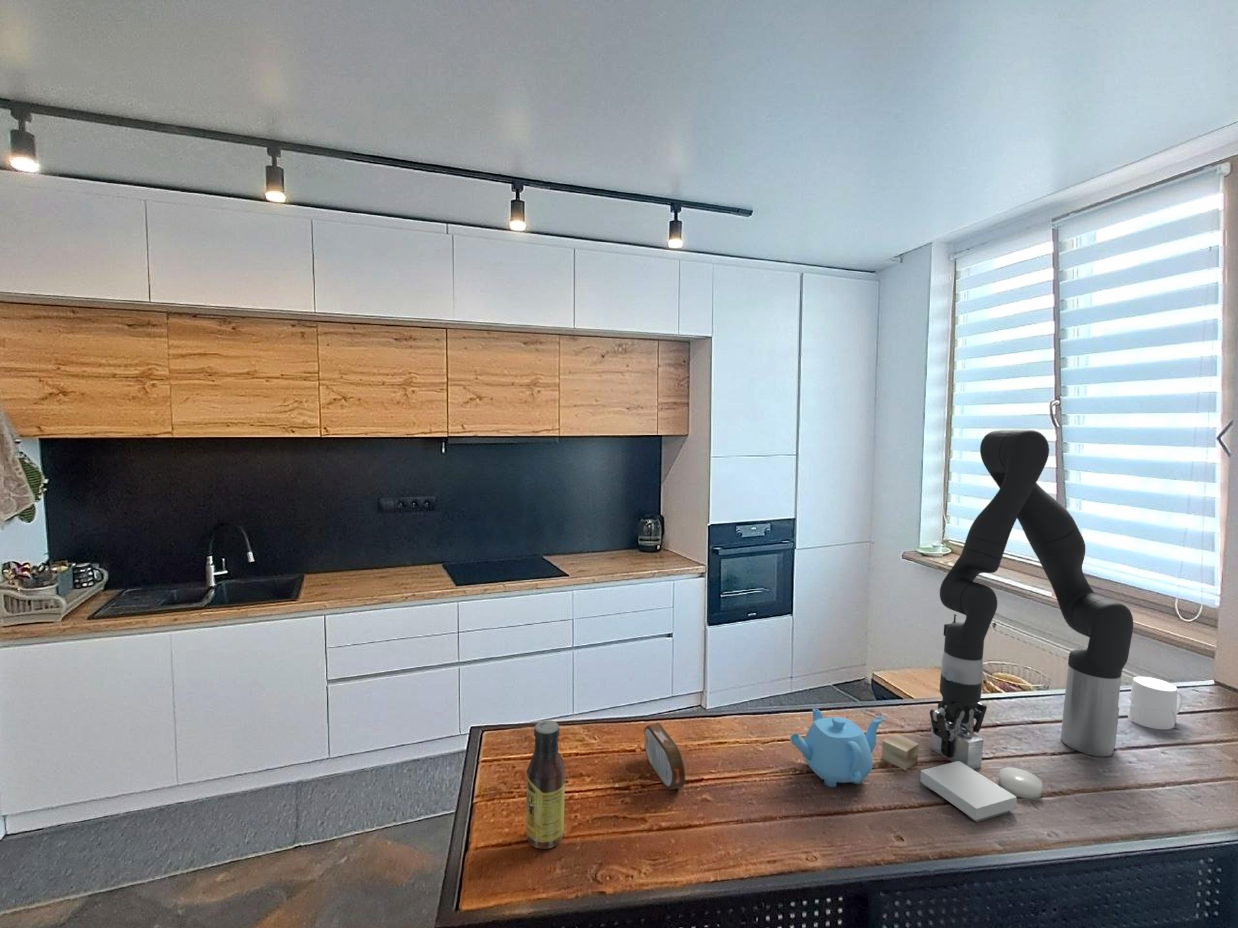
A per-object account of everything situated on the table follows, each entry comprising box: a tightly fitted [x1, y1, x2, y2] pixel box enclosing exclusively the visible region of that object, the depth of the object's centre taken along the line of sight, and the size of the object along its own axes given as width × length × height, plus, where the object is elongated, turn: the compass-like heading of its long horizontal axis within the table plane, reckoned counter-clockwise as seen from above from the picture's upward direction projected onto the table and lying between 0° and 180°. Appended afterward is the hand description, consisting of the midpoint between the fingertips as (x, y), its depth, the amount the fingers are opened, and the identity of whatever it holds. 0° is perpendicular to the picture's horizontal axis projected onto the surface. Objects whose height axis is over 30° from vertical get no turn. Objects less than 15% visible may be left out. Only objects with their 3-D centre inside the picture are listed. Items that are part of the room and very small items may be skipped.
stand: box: [919, 761, 1018, 823], centre depth 116 cm, size 10×12×3 cm
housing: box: [929, 721, 984, 770], centre depth 129 cm, size 4×9×7 cm, turn 21°
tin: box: [643, 722, 686, 791], centre depth 120 cm, size 15×3×8 cm, turn 19°
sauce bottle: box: [525, 719, 566, 850], centre depth 101 cm, size 6×6×20 cm
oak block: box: [881, 733, 920, 771], centre depth 128 cm, size 5×5×4 cm
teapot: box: [789, 708, 885, 788], centre depth 122 cm, size 15×14×11 cm
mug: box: [1127, 676, 1183, 730], centre depth 147 cm, size 12×9×8 cm
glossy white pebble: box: [998, 766, 1043, 800], centre depth 120 cm, size 7×7×2 cm
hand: (954, 753), depth 130 cm, fingers closed on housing, 4 cm apart
